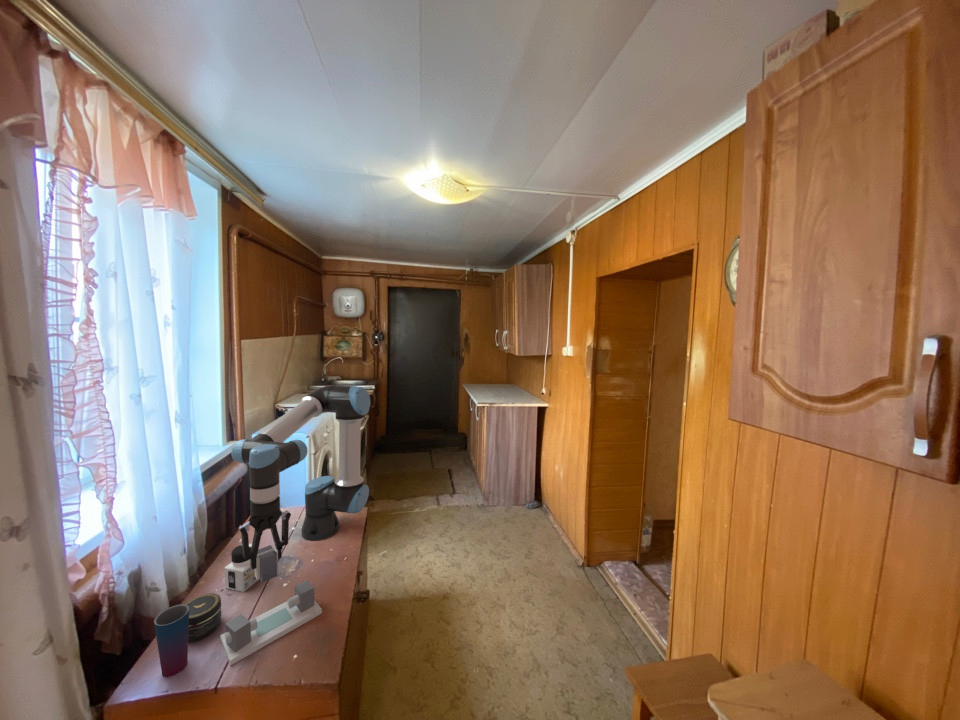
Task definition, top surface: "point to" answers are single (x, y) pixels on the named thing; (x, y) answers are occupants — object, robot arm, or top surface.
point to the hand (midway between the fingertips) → (266, 573)
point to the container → (239, 571)
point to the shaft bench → (269, 624)
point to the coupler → (267, 563)
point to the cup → (172, 639)
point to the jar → (203, 616)
